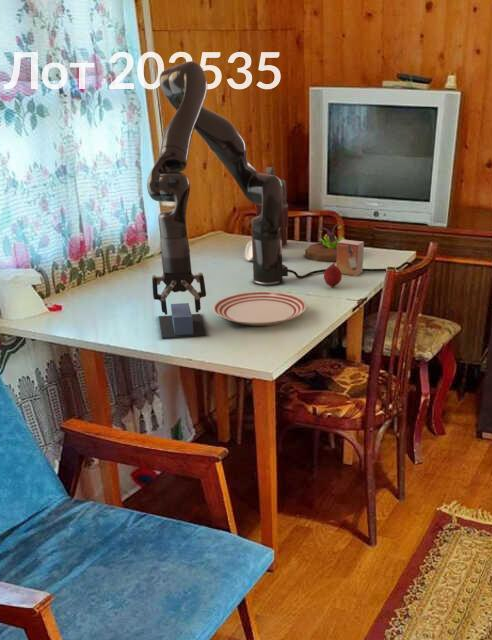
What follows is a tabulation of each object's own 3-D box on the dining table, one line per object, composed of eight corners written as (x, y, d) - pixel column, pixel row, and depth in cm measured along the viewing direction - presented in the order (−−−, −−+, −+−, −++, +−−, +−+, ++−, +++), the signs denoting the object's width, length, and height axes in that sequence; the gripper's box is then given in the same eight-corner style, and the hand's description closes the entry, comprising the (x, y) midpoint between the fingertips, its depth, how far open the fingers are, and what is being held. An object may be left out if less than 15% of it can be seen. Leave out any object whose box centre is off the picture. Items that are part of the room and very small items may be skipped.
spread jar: (285, 259, 272) (284, 226, 266) (266, 265, 264) (265, 231, 258) (259, 254, 277) (258, 221, 271) (240, 260, 269) (238, 227, 263)
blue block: (173, 317, 199) (170, 303, 209) (175, 335, 202) (172, 321, 212) (192, 316, 200) (188, 302, 210) (193, 334, 203) (190, 320, 213)
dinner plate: (270, 338, 202) (270, 326, 201) (194, 319, 214) (193, 308, 212) (324, 312, 222) (324, 301, 220) (251, 296, 234) (251, 285, 232)
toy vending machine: (283, 249, 283) (282, 170, 268) (257, 246, 286) (254, 168, 271) (292, 244, 291) (291, 166, 275) (266, 241, 294) (264, 164, 278)
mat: (200, 315, 218) (200, 313, 218) (206, 336, 203) (206, 334, 203) (158, 317, 215) (158, 316, 215) (162, 338, 201) (161, 337, 201)
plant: (349, 264, 268) (350, 232, 261) (299, 259, 273) (299, 227, 266) (365, 251, 283) (366, 221, 277) (317, 246, 288) (318, 216, 282)
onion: (339, 290, 241) (339, 265, 236) (322, 289, 242) (322, 264, 237) (342, 285, 245) (343, 261, 241) (325, 284, 246) (326, 259, 242)
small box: (335, 273, 258) (336, 242, 252) (341, 269, 262) (342, 238, 256) (357, 276, 255) (358, 244, 249) (362, 272, 260) (364, 241, 254)
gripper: (201, 248, 202) (205, 307, 211) (147, 250, 199) (154, 310, 208) (203, 255, 196) (208, 315, 205) (148, 258, 193) (156, 318, 202)
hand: (181, 312), depth 206 cm, fingers open, 8 cm apart
